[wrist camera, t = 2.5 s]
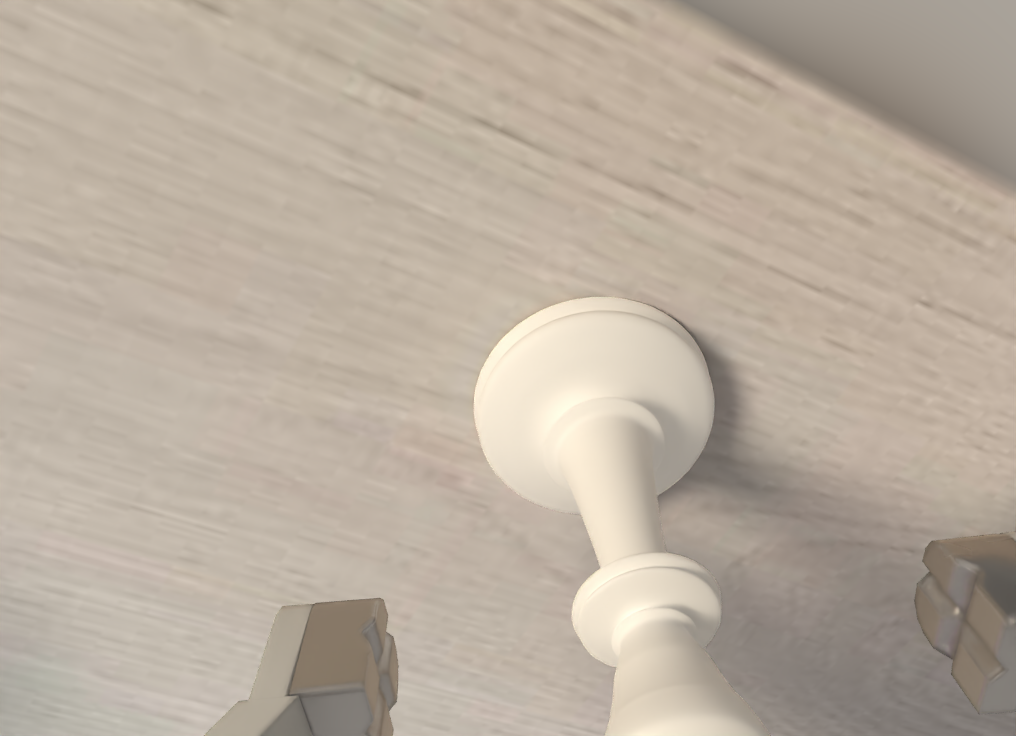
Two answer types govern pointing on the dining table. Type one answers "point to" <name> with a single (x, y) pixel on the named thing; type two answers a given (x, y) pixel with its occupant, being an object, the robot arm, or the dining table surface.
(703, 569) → the chess piece
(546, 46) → the dining table surface
